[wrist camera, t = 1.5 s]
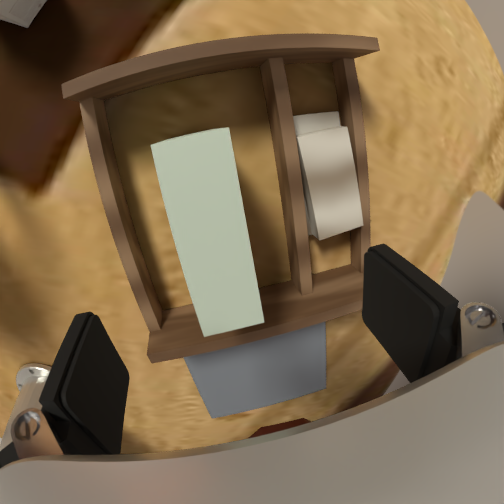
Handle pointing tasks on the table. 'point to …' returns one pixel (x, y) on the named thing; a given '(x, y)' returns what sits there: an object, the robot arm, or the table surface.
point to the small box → (20, 11)
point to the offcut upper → (329, 181)
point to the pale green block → (209, 228)
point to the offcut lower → (313, 124)
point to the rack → (288, 168)
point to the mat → (261, 371)
